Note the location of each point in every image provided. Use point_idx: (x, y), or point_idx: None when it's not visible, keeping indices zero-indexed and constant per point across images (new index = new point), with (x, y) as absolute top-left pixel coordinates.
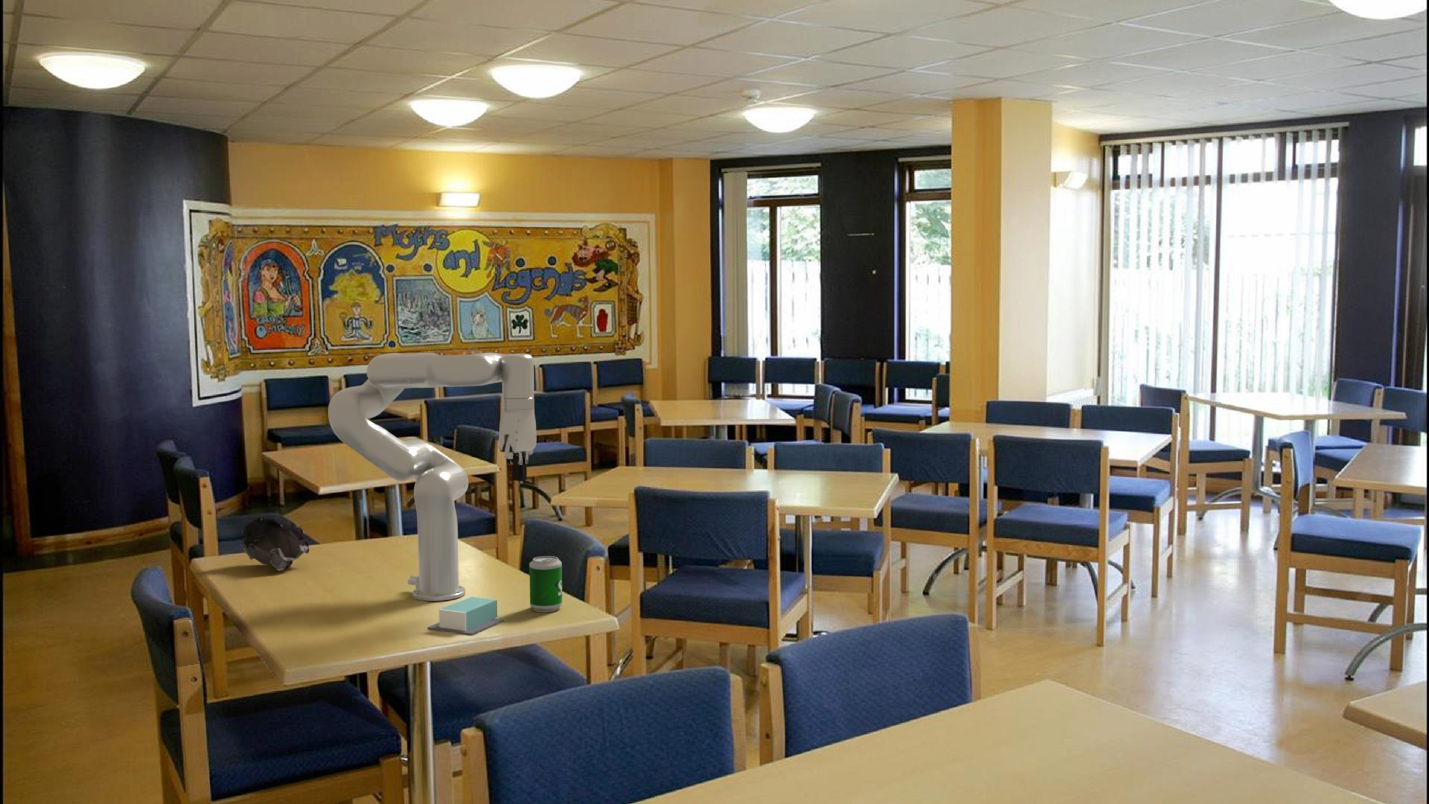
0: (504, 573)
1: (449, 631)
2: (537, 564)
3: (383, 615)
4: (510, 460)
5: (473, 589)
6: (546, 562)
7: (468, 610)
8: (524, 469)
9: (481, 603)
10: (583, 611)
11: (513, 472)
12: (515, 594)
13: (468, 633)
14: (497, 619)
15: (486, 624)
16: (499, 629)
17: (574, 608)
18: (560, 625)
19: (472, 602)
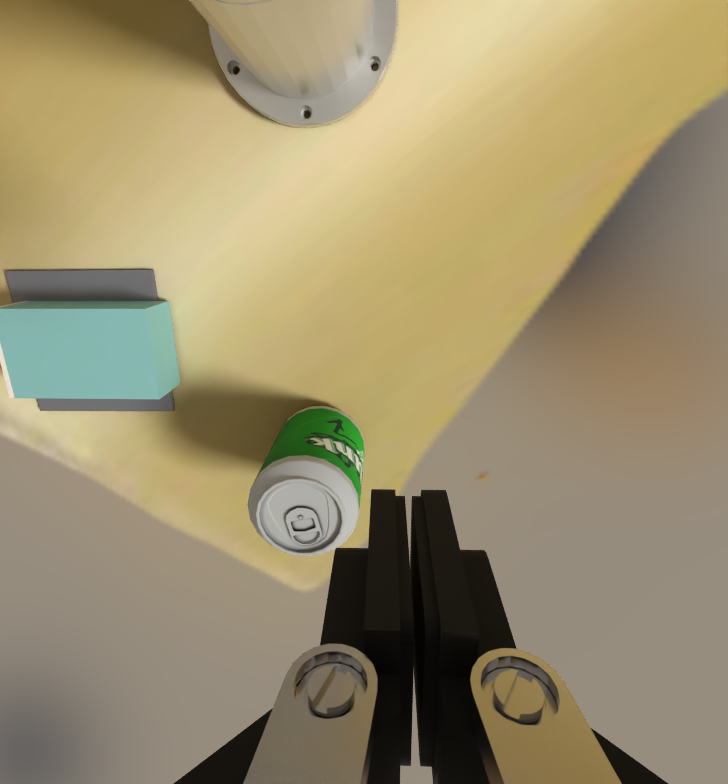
0: (692, 39)
1: None
2: (252, 510)
3: (16, 27)
4: (209, 758)
5: (425, 92)
6: (267, 538)
7: (32, 391)
8: (416, 705)
9: (105, 381)
10: None
11: (331, 583)
12: (422, 275)
13: (37, 399)
14: (164, 396)
15: None
16: (117, 436)
17: None
18: (219, 537)
19: (98, 351)
